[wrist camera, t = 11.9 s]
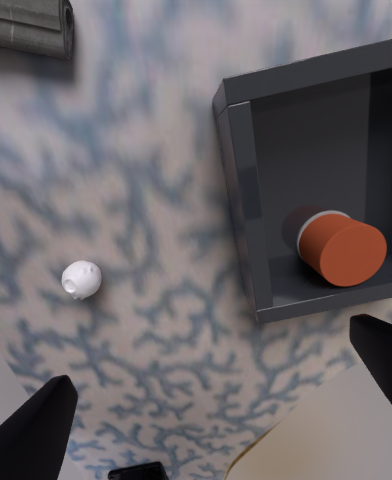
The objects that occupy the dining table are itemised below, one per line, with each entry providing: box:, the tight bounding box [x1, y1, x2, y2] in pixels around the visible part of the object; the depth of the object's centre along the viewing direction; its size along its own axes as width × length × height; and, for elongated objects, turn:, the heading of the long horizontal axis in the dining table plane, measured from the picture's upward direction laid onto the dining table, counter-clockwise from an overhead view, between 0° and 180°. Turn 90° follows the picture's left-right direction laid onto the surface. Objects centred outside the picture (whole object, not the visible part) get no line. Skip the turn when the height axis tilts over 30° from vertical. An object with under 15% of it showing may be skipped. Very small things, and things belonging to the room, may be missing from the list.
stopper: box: [299, 214, 387, 286], centre depth 17 cm, size 4×4×3 cm
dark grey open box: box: [213, 39, 392, 325], centre depth 16 cm, size 15×14×4 cm
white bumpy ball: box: [62, 261, 102, 300], centre depth 18 cm, size 3×3×3 cm
